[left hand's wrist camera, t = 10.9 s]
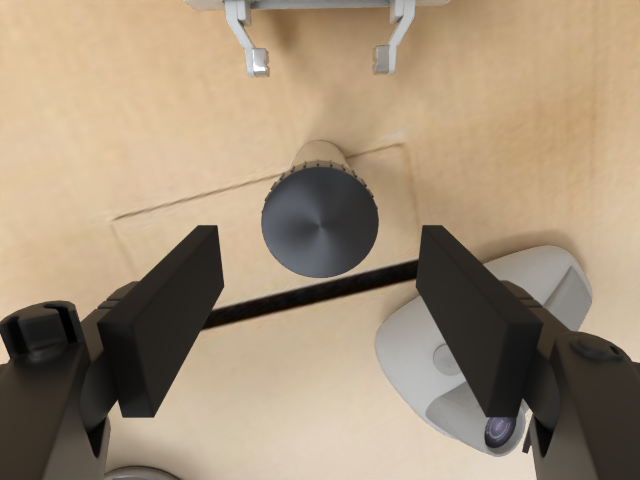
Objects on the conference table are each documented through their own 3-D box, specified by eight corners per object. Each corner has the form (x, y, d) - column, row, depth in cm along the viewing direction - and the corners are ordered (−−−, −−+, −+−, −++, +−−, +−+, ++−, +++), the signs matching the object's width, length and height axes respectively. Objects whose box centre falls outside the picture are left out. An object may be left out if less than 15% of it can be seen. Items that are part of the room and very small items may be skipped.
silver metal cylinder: (329, 202, 36) (337, 284, 19) (284, 177, 35) (252, 240, 18) (356, 157, 34) (390, 205, 18) (310, 130, 33) (300, 152, 17)
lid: (338, 278, 21) (340, 297, 19) (248, 231, 20) (239, 246, 18) (394, 194, 19) (403, 204, 17) (298, 137, 18) (296, 140, 16)
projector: (531, 397, 45) (622, 522, 32) (360, 388, 45) (378, 511, 31) (590, 243, 37) (745, 320, 24) (382, 230, 37) (419, 301, 23)
